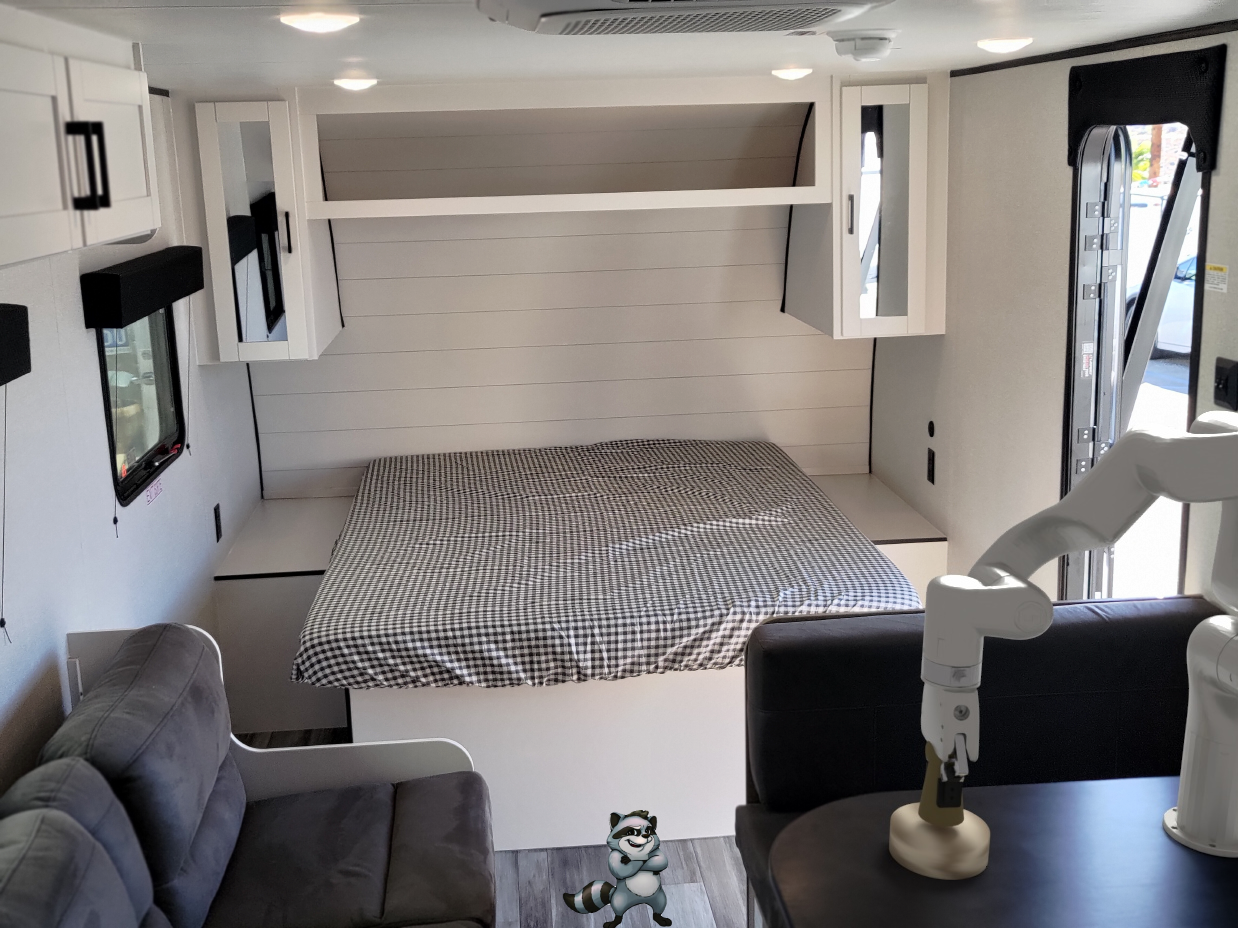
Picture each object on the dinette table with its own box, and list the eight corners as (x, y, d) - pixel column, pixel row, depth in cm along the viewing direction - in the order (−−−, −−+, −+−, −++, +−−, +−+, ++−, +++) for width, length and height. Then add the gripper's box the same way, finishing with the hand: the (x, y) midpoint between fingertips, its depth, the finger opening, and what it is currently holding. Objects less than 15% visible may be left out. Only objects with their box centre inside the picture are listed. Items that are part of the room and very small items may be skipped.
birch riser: (968, 826, 163) (970, 800, 163) (1002, 878, 151) (1005, 850, 150) (877, 828, 163) (879, 802, 162) (904, 880, 150) (906, 852, 149)
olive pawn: (959, 805, 158) (964, 730, 156) (968, 827, 152) (973, 750, 150) (914, 802, 159) (919, 728, 157) (921, 825, 153) (926, 748, 151)
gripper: (1003, 694, 143) (992, 829, 147) (957, 645, 160) (949, 767, 163) (943, 695, 143) (934, 830, 147) (904, 646, 159) (897, 769, 163)
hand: (942, 796), depth 155 cm, fingers closed on olive pawn, 4 cm apart
